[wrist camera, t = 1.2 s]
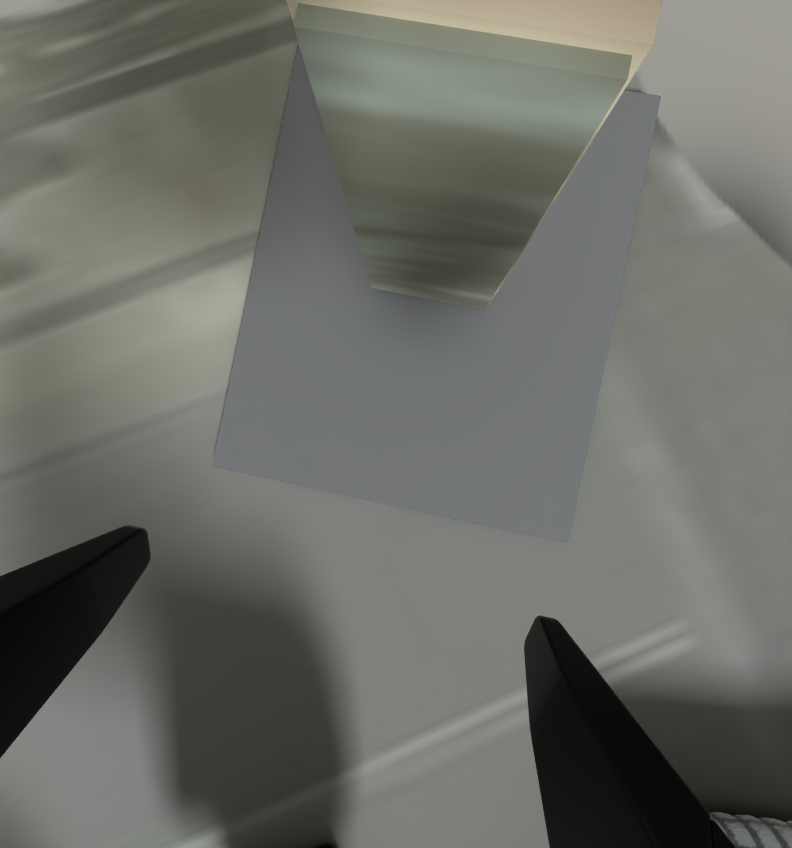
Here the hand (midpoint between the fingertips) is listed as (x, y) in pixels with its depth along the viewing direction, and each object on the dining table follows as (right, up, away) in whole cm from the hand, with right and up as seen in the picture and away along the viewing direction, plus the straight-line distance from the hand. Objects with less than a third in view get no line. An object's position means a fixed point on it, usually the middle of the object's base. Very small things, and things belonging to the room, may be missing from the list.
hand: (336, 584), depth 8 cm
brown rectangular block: (+3, +11, +10) cm, 15 cm away
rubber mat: (+3, +10, +11) cm, 15 cm away
